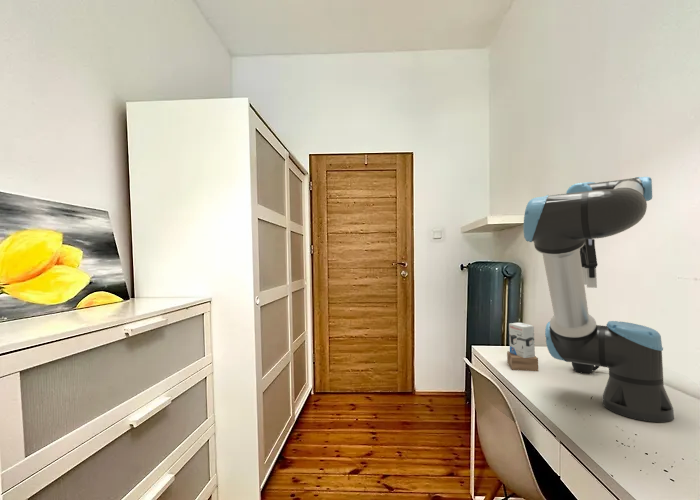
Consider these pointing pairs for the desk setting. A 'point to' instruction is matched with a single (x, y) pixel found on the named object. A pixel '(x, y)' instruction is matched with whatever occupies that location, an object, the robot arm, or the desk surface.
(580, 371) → the mug
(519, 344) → the ink box
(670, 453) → the desk surface
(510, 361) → the base block
